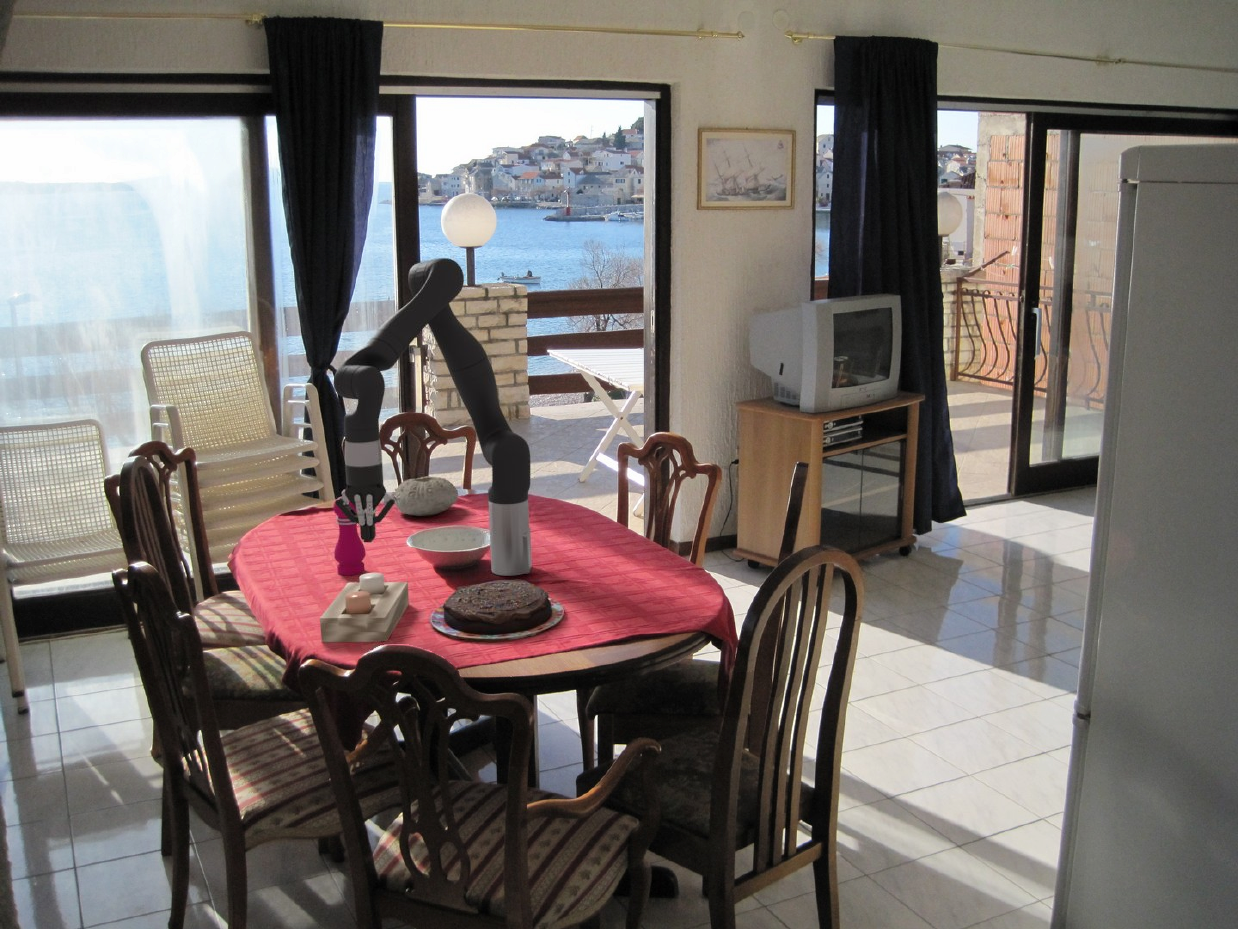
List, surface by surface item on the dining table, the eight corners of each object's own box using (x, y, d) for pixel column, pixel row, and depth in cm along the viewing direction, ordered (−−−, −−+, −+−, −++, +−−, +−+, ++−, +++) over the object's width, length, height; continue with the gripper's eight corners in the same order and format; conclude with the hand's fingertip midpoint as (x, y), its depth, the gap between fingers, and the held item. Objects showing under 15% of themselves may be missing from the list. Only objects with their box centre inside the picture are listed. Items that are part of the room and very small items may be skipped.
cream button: (386, 587, 251) (385, 572, 250) (381, 595, 246) (380, 580, 245) (363, 587, 251) (362, 572, 250) (357, 595, 246) (356, 580, 245)
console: (409, 604, 254) (407, 582, 253) (386, 641, 232) (384, 617, 231) (349, 604, 254) (348, 582, 253) (321, 642, 233) (319, 618, 232)
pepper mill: (359, 577, 273) (353, 494, 268) (330, 575, 274) (324, 493, 270) (371, 567, 280) (366, 486, 275) (343, 566, 281) (337, 485, 277)
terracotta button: (373, 607, 239) (372, 591, 238) (367, 615, 234) (366, 599, 233) (349, 607, 239) (348, 591, 238) (343, 615, 234) (342, 599, 233)
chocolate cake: (451, 653, 227) (449, 621, 225) (415, 609, 252) (413, 580, 250) (584, 630, 237) (584, 599, 236) (538, 590, 262) (537, 562, 261)
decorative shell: (397, 506, 336) (395, 472, 334) (459, 503, 338) (458, 469, 336) (392, 522, 319) (390, 487, 316) (458, 519, 321) (456, 484, 318)
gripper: (399, 457, 245) (403, 536, 249) (336, 457, 246) (342, 536, 250) (391, 465, 238) (395, 546, 242) (327, 465, 239) (332, 546, 242)
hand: (368, 541), depth 246 cm, fingers closed
